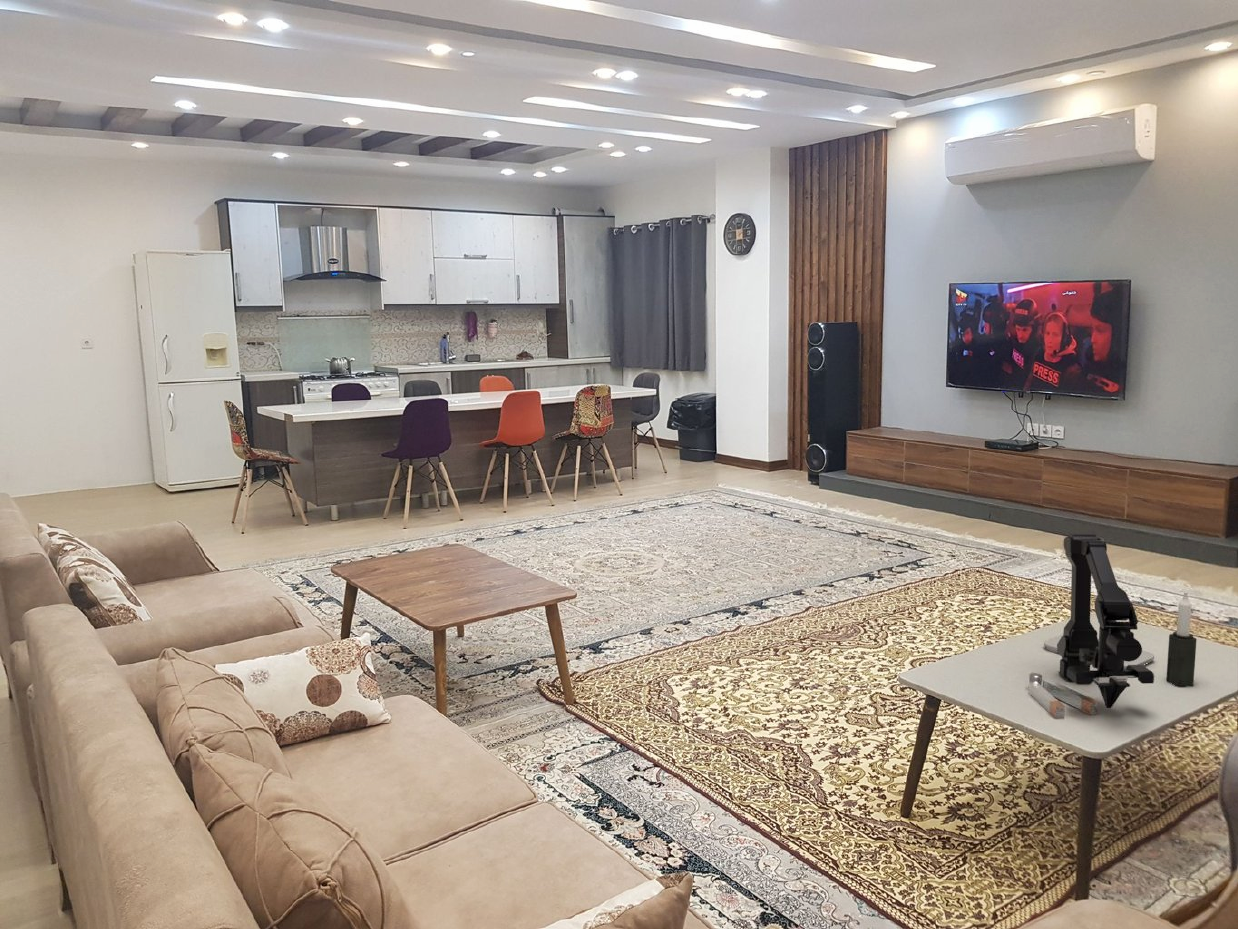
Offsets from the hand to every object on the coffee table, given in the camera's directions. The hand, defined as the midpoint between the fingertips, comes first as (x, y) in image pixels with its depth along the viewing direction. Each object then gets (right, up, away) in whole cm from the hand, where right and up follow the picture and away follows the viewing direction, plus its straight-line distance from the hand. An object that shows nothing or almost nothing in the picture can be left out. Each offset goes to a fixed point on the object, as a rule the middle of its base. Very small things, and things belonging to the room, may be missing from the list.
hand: (1108, 707), depth 232 cm
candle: (+28, +2, +17) cm, 33 cm away
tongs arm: (-7, 0, +6) cm, 9 cm away
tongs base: (-12, 0, +7) cm, 14 cm away
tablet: (+17, +4, +39) cm, 43 cm away
